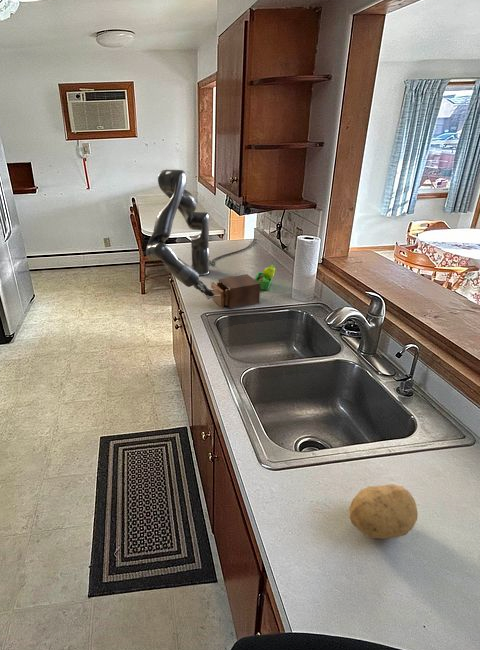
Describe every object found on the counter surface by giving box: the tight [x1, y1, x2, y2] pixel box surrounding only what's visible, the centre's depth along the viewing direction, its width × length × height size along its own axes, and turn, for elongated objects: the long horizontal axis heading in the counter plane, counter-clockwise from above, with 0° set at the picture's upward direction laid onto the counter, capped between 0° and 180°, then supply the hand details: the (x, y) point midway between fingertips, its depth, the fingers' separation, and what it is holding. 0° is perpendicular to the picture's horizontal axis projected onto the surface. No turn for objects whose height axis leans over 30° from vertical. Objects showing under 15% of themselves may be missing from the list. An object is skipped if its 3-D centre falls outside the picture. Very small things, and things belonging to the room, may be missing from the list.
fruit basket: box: [254, 264, 276, 291], centre depth 190 cm, size 11×9×11 cm
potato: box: [348, 483, 419, 539], centre depth 78 cm, size 10×14×8 cm
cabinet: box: [218, 273, 261, 309], centre depth 178 cm, size 15×13×10 cm
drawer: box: [200, 281, 229, 309], centre depth 176 cm, size 19×11×8 cm, turn 108°
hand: (212, 295), depth 174 cm, fingers closed
